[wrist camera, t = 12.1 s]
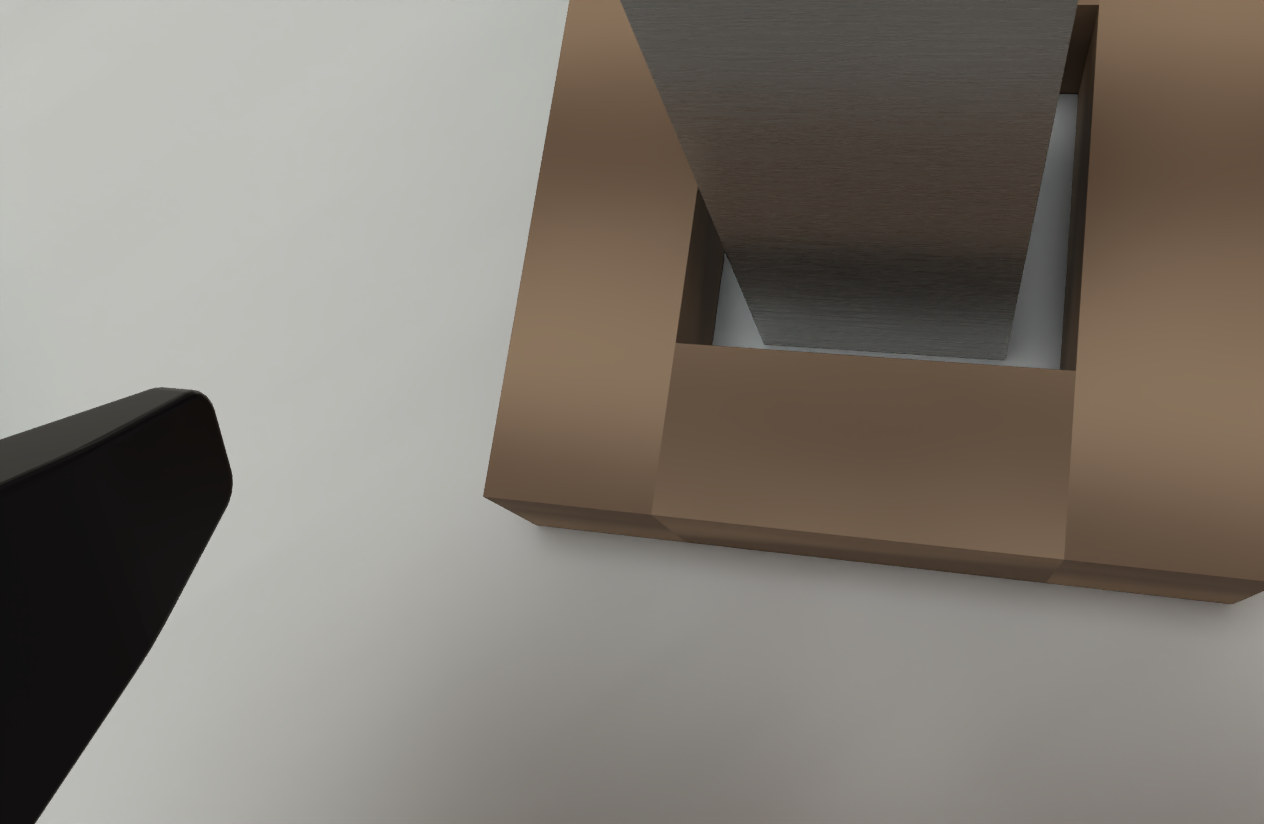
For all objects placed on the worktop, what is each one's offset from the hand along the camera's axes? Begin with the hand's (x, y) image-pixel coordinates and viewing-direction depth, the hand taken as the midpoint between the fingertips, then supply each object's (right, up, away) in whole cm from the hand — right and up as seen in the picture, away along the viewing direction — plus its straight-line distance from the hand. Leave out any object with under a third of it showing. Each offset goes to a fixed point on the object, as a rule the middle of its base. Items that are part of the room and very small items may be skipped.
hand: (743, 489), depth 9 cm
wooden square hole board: (+4, +4, +14) cm, 15 cm away
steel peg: (+4, +4, +14) cm, 16 cm away
